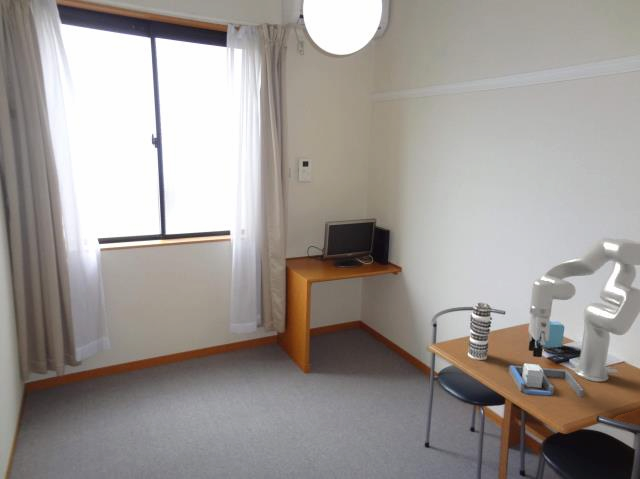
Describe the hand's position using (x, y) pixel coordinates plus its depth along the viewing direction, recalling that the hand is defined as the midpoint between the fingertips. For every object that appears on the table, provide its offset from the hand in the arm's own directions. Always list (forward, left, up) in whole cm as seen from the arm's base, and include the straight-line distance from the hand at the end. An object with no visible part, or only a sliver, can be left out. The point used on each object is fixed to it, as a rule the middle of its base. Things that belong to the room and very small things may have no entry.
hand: (534, 353), depth 179 cm
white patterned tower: (+17, -22, -14) cm, 31 cm away
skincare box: (0, 0, -14) cm, 14 cm away
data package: (-20, -40, -14) cm, 47 cm away
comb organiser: (-5, 0, -13) cm, 14 cm away
